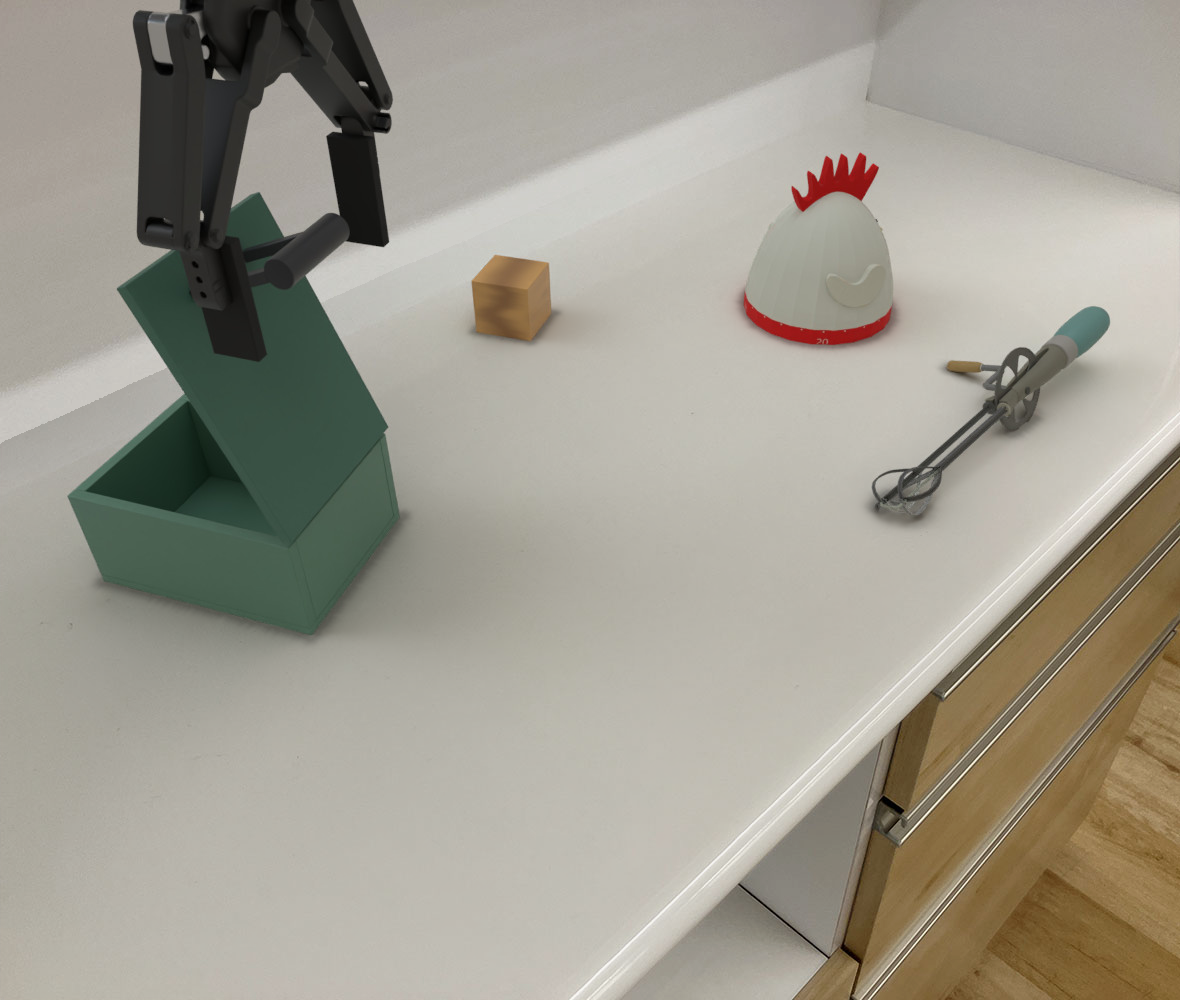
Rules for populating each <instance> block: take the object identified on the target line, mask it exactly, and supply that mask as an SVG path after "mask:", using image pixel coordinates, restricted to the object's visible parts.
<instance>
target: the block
mask: <svg viewBox="0 0 1180 1000" xmlns="http://www.w3.org/2000/svg"><path fill="white" fill-rule="evenodd" d="M550 272H551V271H550V262H548V261H541V260H534V259H527V258H521V257H514V256H508V255H507V256H506V255H499V254H494V255H493V256H492V257H491V258H490V259H489V261H488V262H487V263H486V264H485V265H484V266H483V267H482V268H481V270H480V271H478V273H477V274H476V275H475V276H474V277H473V278H472V279H471V281H470V282H471V291H472V303H473V310H474V312H473V313H474V323H475V332H476V333H479V334H485V335H490V336H497V337H502V338H509V339H515V340H521V341H527V342H531V341H532V340H534V337H535V336H536V335H537V334H538V332H539V331H540V329H541V328H542V327H543V325H544V324H545V323H546V322H547V320H548V319H549V317H550V316H551V315H552V297H551V296H552V295H551V274H550Z"/></svg>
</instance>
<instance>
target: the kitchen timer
mask: <svg viewBox="0 0 1180 1000" xmlns="http://www.w3.org/2000/svg"><path fill="white" fill-rule="evenodd" d="M866 165H867V156H866V155H865V154H863V153H862V152H858V155H857V156H856V159H855V161H854V164H853V165H852V168H851V171H850V170H849V159H848V157H847V156H846V155H844V153H840V155H839V158H838V162H837V166H836V170H835V169H834V168H835V167H834V161H833V158H831V157H830V156H828V155H825V156H824V160H823V163H822V167H821V170H820V175H819V178H818V179H817V176H816V174H814V173H813V172H812V171H810V170H807V171H806V179H807V187H808V188H807V193H806V194H803V195H802V194H801V193H800V191H799V190H798V189H797V188H796V187H795V186H793V185H791V187H790V188H791V194H792V197H793V202H791V204H789V205H788V206H787V207H786V208H785V209H784V210H783V212H781V213H780V214H779V216H778V217H777V218H776V219H775V220H774V221H773V222H771V223H770V224H769V225H768V228H767V231H766V233H765V234H764V236H763V238H762V240H761V242H760V244H759V247H758V249H757V252H756V254H755V257H754V258H753V261H752V263H751V266H750V268H749V272H748V276H747V280H746V284H745V287H744V295H743V296H744V297H743V307H744V311H745V314H746V316H747V318H749V319H750V321H752V322H753V323H754V325H756V326H757V327H758V328H759V329H762V330H763V331H765V332H767V333H768V334H770V335H773V336H776V337H779V338H782V339H784V340H788V341H790V342H795V343H801V344H808V345H823V346H824V345H825V346H835V345H845V344H853V343H856V342H859V341H862V340H866V339H870V338H872V337H874V336H875V335H877V334H878V333H879V332H881V331H882V330H884V329H885V327H886V326H887V325H888V323H889V322H890V320H891V314H892V311H893V310H892V308H893V302H894V277H893V269H892V263H891V256H890V250H889V246H888V243H887V239H886V237H885V234H884V232H883V228H882V227H881V226H880V224H879V221H878V219H877V218H876V217H875V216H874V215H873V213H872V211H871V209H869V207H868V206H867V205H866V204H865V203H864V202H863V199H864V198H865V196H866V194H867V193H868V191H869V189H870V188H871V186H872V184H873V182H874V180H875V178H876V176H877V175H878V173H879V169H880V166H879V165H877V164H875V163H874V162H873V163H871V165H870V166H869V167H868V169H867V170H866ZM834 170H835V171H834Z"/></svg>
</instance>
